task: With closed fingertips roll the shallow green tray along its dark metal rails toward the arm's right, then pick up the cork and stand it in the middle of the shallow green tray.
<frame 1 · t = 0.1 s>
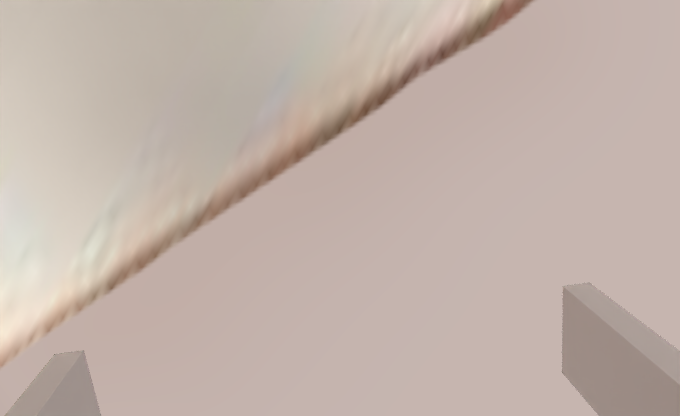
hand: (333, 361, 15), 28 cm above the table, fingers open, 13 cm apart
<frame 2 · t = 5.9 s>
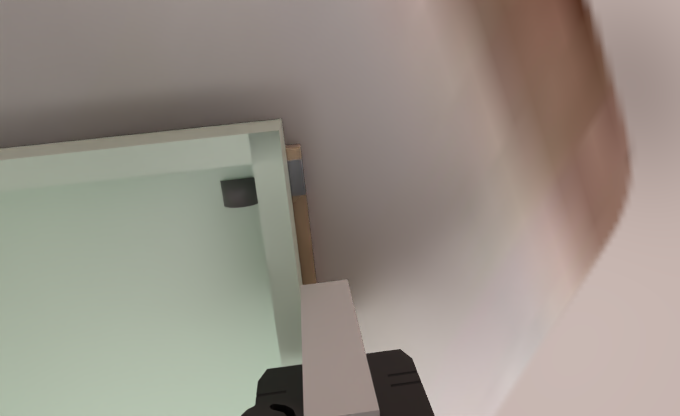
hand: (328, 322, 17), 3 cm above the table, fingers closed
shallow green tray: (99, 353, 17), point 2 cm above the table, slide at 0.5 cm, touching gripper
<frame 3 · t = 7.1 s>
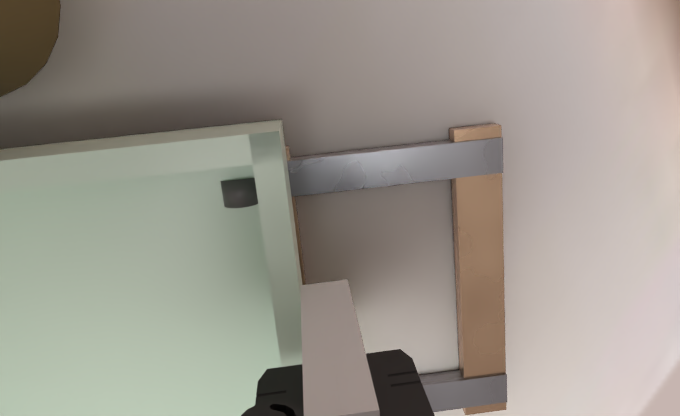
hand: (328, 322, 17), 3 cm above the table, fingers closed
shallow green tray: (99, 353, 17), point 2 cm above the table, slide at 7.2 cm, touching gripper
rails: (185, 310, 20), on the table
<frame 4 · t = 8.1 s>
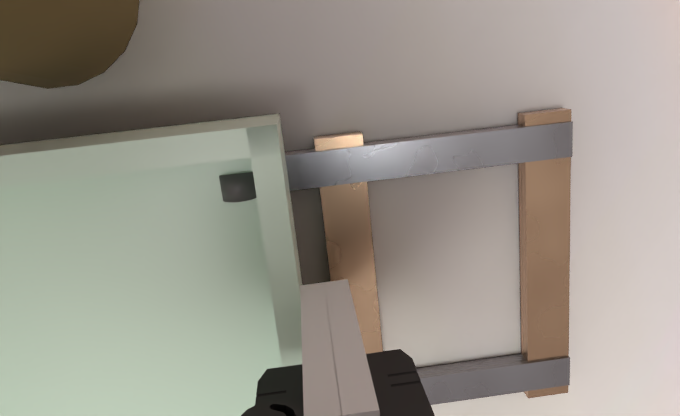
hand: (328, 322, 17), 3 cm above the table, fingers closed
shallow green tray: (100, 348, 17), point 3 cm above the table, slide at 9.7 cm, touching gripper
rails: (254, 295, 20), on the table
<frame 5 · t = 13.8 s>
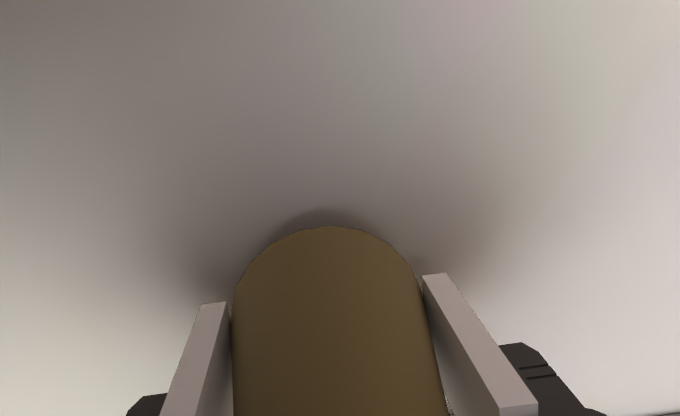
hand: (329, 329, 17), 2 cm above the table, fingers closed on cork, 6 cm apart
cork: (328, 315, 17), point 1 cm above the table, touching gripper
when the fingers open (4 cm above the table, at t = 17.7 s): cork drops 2 cm, resting on shallow green tray.
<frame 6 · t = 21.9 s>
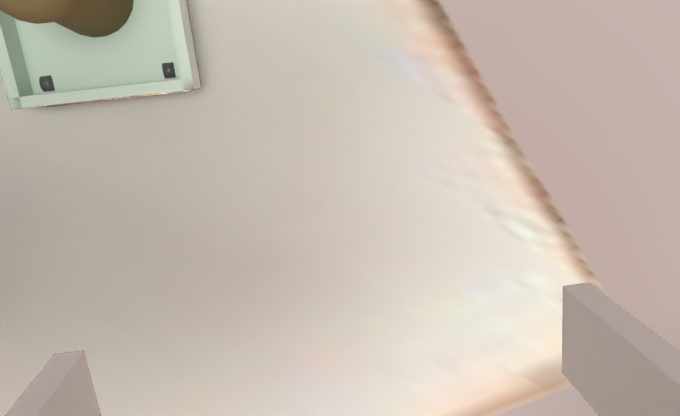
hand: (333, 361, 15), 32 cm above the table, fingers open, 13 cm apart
shallow green tray: (90, 5, 39), point 3 cm above the table, slide at 9.8 cm, touching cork
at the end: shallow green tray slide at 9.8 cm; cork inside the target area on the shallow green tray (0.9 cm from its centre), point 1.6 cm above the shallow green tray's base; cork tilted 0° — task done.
